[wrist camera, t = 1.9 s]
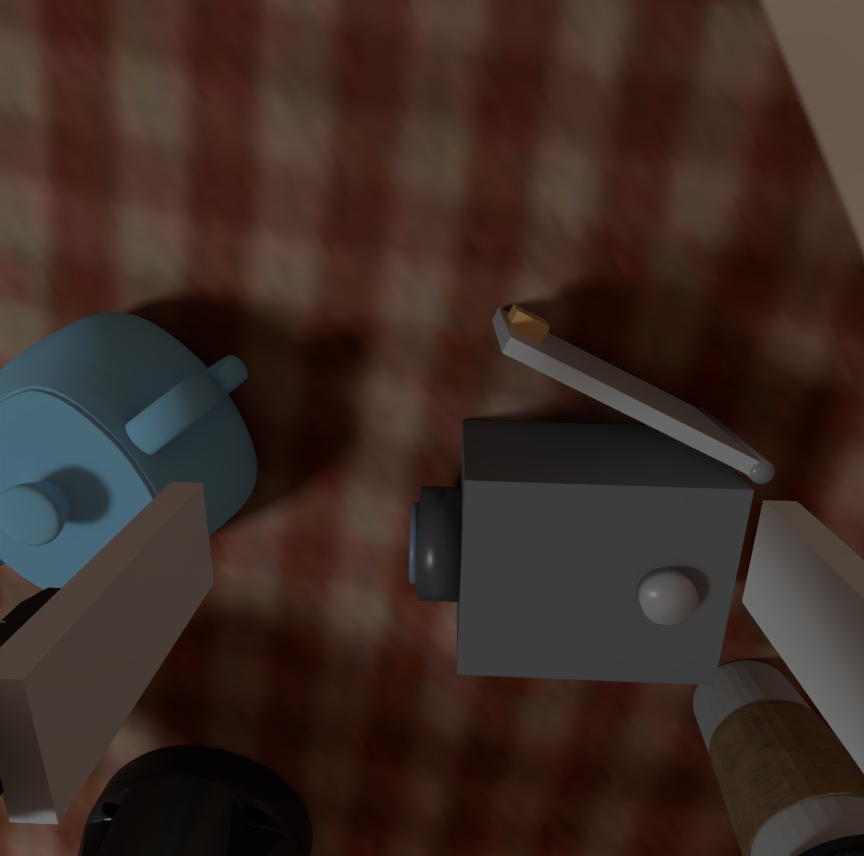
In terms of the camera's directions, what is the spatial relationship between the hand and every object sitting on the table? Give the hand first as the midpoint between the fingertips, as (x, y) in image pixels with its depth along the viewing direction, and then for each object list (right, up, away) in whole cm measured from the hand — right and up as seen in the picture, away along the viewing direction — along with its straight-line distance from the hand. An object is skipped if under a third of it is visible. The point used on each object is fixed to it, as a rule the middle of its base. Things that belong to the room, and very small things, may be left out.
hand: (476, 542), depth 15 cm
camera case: (+5, -2, +21) cm, 22 cm away
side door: (+8, +6, +18) cm, 20 cm away
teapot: (-18, +2, +21) cm, 27 cm away
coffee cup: (+18, -14, +25) cm, 34 cm away
